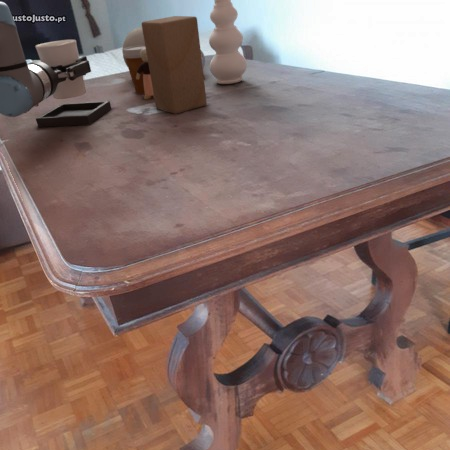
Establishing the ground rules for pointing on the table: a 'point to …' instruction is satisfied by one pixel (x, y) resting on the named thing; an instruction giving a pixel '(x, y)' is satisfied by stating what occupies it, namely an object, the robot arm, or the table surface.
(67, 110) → the black tray
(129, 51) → the disposable coffee cup
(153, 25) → the wooden block
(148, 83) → the grandmother figurine
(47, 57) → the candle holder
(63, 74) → the robot arm
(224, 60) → the vase
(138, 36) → the decorative sphere
